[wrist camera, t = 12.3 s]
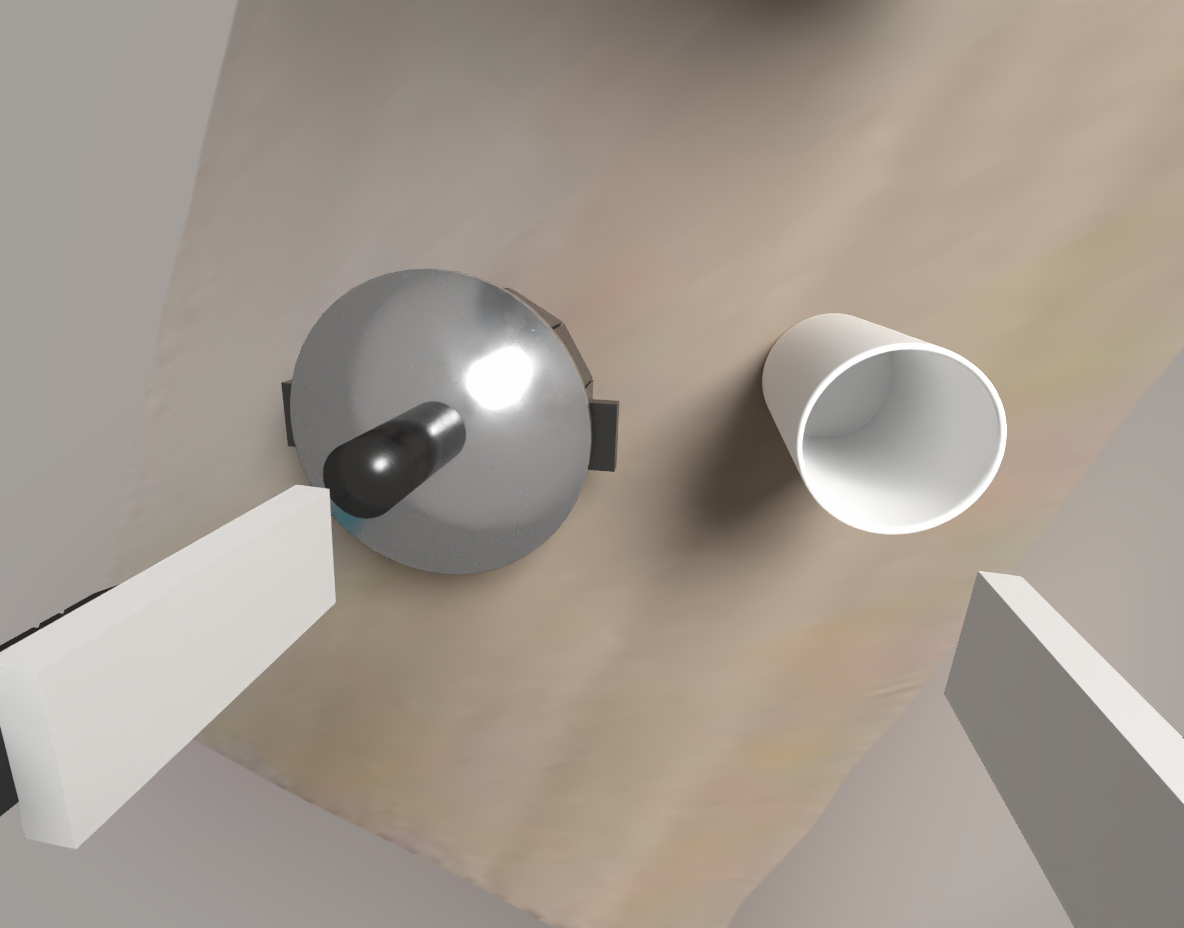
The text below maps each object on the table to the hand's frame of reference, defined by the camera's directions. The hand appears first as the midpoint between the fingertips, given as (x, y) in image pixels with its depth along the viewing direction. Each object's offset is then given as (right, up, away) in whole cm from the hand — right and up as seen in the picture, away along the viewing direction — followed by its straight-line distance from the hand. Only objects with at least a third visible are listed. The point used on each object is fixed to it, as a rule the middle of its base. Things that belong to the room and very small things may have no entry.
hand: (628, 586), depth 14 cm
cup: (+14, +8, +29) cm, 34 cm away
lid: (-10, +5, +25) cm, 28 cm away
